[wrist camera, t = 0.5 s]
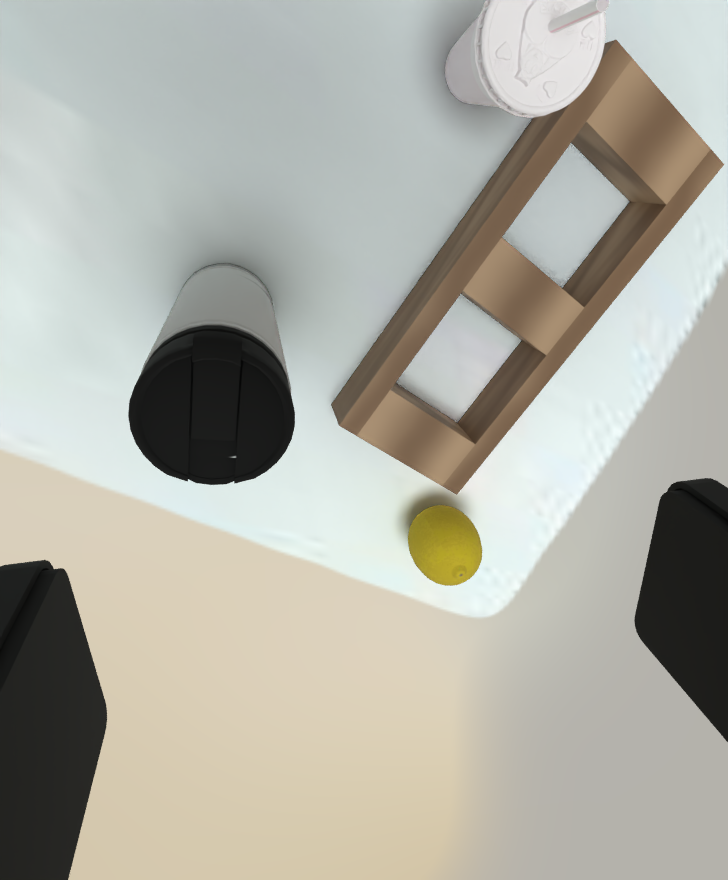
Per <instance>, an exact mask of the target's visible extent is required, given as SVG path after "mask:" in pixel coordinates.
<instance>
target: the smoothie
mask: <svg viewBox="0 0 728 880" xmlns="http://www.w3.org/2000/svg"><path fill="white" fill-rule="evenodd" d="M608 6H609V0H485V2H484V5H483V8H482V10H481V13H480V15H479V16H478V17H477V18H476V20H475V21H474V22H473V23H472V24H471V25H470V27H469V28H468V29H467V30H466V31H465V33H464V34H463V35H462V36H461V37H460V39H459V40H458V41H457V42H456V43H455V44H454V46H453V47H452V48H451V50H450V52H449V54H448V57H447V60H446V65H445V77H446V82H447V85H448V88H449V90H450V91H451V93H452V94H453V95H454V96H455V97H456V98H457V99H458V100H460V101H461V102H464V103H467V104H475V105H484V106H492V107H500V108H501V109H503V110H505V111H507V112H509V113H511V114H513V115H515V116H521V117H527V118H533V117H539V116H545V115H547V114H550V113H552V112H555V111H558V110H560V109H562V108H564V107H565V106H567V105H569V104H570V103H571V102H573V101H574V100H575V99H576V98H577V97H578V96H579V95H580V94H581V93H582V92H583V91H584V90H585V88H586V87H587V86H588V84H589V83H590V81H591V80H592V78H593V76H594V74H595V72H596V70H597V68H598V66H599V63H600V60H601V57H602V54H603V50H604V45H605V37H606V17H605V11H606V10H607V9H608Z"/></svg>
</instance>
